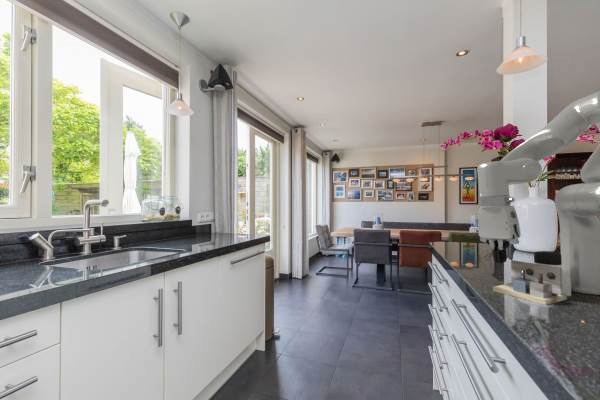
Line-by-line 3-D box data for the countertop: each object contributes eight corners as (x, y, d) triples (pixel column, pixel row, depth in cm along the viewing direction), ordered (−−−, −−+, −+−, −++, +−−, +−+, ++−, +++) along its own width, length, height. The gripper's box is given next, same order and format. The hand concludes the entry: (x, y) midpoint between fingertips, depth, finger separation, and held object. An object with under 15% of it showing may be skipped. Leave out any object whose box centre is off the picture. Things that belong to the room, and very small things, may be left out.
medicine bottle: (572, 297, 77) (570, 254, 78) (542, 296, 79) (541, 253, 79) (554, 290, 84) (553, 250, 85) (527, 288, 86) (526, 249, 86)
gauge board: (513, 286, 86) (513, 259, 87) (567, 299, 74) (566, 267, 75) (492, 290, 82) (492, 262, 83) (545, 304, 71) (544, 271, 71)
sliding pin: (522, 288, 80) (521, 268, 80) (534, 291, 77) (533, 270, 77) (513, 290, 78) (512, 270, 79) (525, 293, 76) (524, 272, 76)
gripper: (530, 200, 80) (536, 264, 80) (479, 202, 94) (484, 257, 93) (514, 201, 77) (520, 268, 77) (463, 204, 91) (468, 260, 90)
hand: (500, 262), depth 85 cm, fingers closed
